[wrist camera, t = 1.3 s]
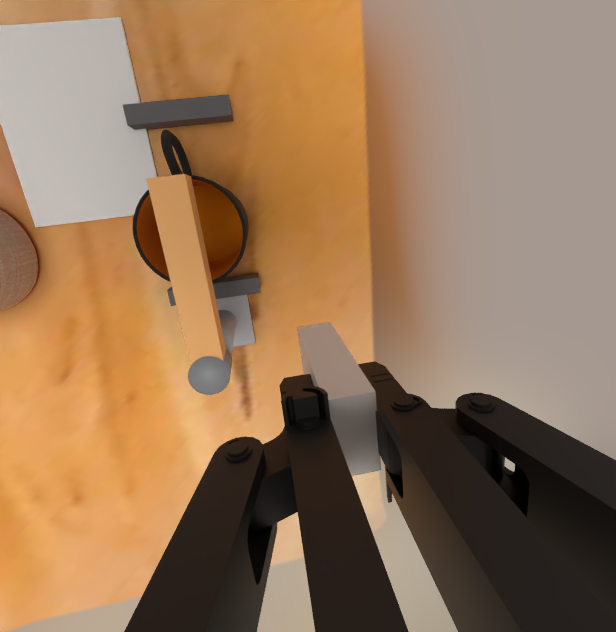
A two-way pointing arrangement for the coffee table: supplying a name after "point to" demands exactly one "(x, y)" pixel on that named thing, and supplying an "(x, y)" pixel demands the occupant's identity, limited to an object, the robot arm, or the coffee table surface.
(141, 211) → the mug
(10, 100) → the mat
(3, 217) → the planter
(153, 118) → the dock
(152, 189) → the wooden bar
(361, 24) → the coffee table surface
